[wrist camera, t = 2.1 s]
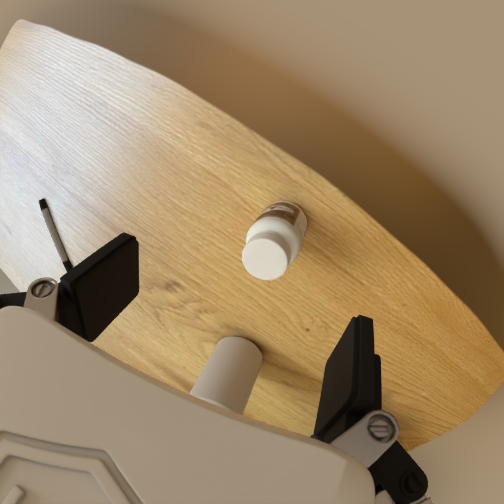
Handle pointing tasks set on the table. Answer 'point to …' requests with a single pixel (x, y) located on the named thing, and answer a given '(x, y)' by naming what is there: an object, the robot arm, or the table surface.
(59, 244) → the pen
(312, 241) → the table surface
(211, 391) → the beverage can
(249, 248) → the pill bottle
